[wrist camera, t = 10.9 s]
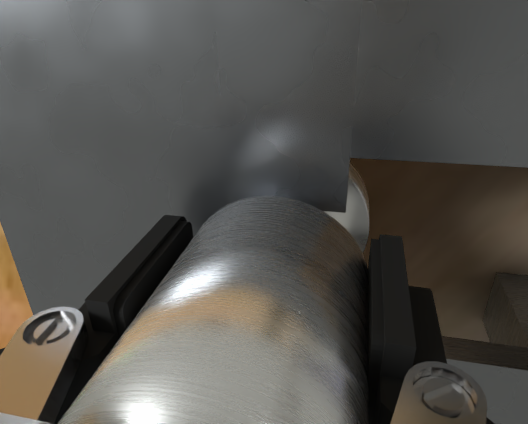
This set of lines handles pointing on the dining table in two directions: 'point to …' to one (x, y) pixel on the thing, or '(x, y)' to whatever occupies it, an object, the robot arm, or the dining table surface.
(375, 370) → the robot arm
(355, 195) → the peg
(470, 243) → the dining table surface
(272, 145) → the grey windowed bracket
